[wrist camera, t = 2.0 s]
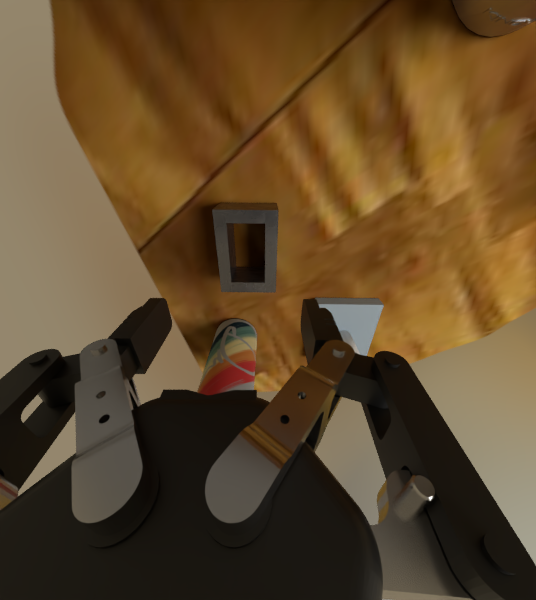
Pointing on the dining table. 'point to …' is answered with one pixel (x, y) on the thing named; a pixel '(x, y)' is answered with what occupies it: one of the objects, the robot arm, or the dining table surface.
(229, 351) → the lotion bottle
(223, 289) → the link
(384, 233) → the dining table surface
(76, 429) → the robot arm
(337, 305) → the grey base with peg
